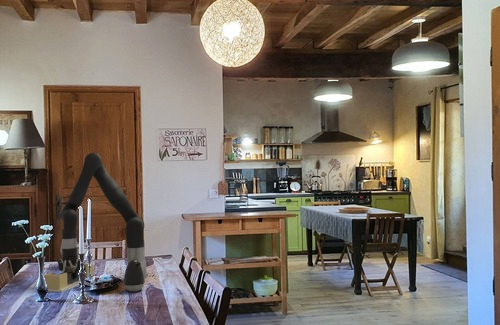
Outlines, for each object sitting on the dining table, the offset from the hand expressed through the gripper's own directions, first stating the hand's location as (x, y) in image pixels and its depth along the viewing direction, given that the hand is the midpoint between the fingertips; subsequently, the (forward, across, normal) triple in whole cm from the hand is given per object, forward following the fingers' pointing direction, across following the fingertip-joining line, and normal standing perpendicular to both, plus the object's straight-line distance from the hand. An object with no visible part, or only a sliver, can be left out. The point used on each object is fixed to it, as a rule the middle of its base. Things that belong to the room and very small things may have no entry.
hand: (70, 279), depth 255 cm
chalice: (+3, +27, -40) cm, 48 cm away
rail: (+1, 0, 0) cm, 1 cm away
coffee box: (+3, +11, -18) cm, 21 cm away
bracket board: (+3, 0, 0) cm, 3 cm away
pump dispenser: (+3, -41, +6) cm, 41 cm away
